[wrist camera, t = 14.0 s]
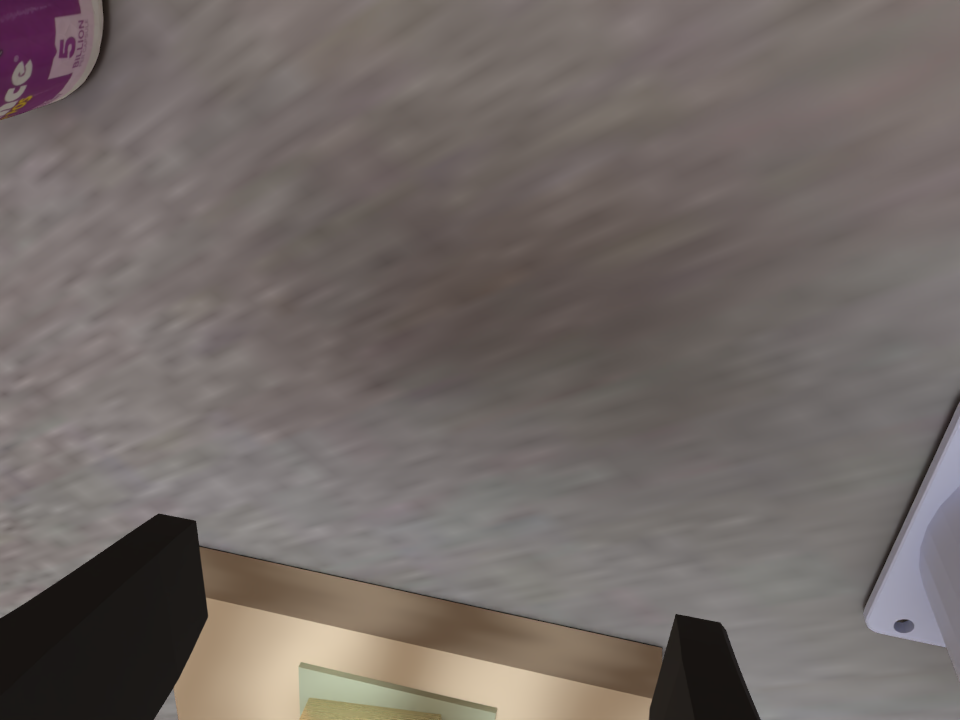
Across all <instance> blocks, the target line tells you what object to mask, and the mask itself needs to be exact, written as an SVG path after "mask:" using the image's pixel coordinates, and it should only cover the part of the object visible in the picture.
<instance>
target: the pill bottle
mask: <svg viewBox="0 0 960 720" xmlns="http://www.w3.org/2000/svg"><path fill="white" fill-rule="evenodd" d="M102 33H103V7H102V0H0V120H2V119H5V118H9V117H12V116H15V115H18V114H21V113H24V112H27V111H30V110H33V109H36V108H39V107H42V106H44V105H47V104H50V103H53V102H56V101H58V100H61V99H63V98H65V97H66V96H68V95H69V94H71V93H72V92H73V91H75V90H76V89H77V88H78V87H79V86H80V85H82V84H83V83H84V82H85V80H86V78H87V77H88V75H89V74H90V72H91V71H92V69H93V67H94V65H95V63H96V60H97V58H98V55H99V52H100V44H101V39H102Z"/></svg>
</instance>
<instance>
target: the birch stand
mask: <svg viewBox="0 0 960 720" xmlns="http://www.w3.org/2000/svg"><path fill="white" fill-rule="evenodd" d="M199 548H200V556H201V564H202V571H203V579H204V587H205V594H206V602H207V610H208V618H207V621H206V623H205V625H204V627H203V629H202V631H201V634H200V636H199V638H198V640H197V642H196V645H195V647H194V649H193V651H192V653H191V655H190V657H189V659H188V661H187V663H186V665H185V667H184V669H183V671H182V673H181V676H180V678H179V679H178V681H177V683H176V684H175V686H174V693H175V700H176V707H177V713H178V720H299V719H300V717H301V714H302V712H303V710H304V708H305V706H306V703H307V701H308V699H309V698H317V699H325V700H333V701H340V702H348V703H356V704H364V705H371V706H379V707H387V708H395V709H403V710H410V711H418V712H426V713H434V714H441V717H442V720H649V709H650V705H651V702H652V698H653V695H654V691H655V687H656V684H657V680H658V677H659V673H660V669H661V666H662V648H660V647H655V646H651V645H646V644H641V643H637V642H632V641H628V640H623V639H619V638H614V637H609V636H605V635H600V634H596V633H591V632H587V631H582V630H578V629H573V628H568V627H564V626H559V625H555V624H550V623H546V622H541V621H536V620H532V619H527V618H523V617H518V616H514V615H509V614H504V613H500V612H495V611H491V610H486V609H482V608H477V607H472V606H468V605H463V604H459V603H454V602H450V601H445V600H440V599H436V598H431V597H427V596H422V595H418V594H413V593H409V592H404V591H399V590H395V589H390V588H386V587H381V586H377V585H372V584H367V583H363V582H358V581H354V580H349V579H345V578H340V577H335V576H331V575H326V574H322V573H317V572H313V571H308V570H303V569H299V568H294V567H290V566H285V565H281V564H276V563H271V562H267V561H262V560H258V559H253V558H249V557H244V556H239V555H235V554H230V553H226V552H221V551H217V550H212V549H208V548H203V547H199Z"/></svg>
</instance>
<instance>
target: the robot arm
mask: <svg viewBox="0 0 960 720" xmlns="http://www.w3.org/2000/svg"><path fill="white" fill-rule="evenodd" d="M863 615H864V619H865V622H866V624H867V627H868V628H869V629H871V630H872V631H874V632H876V633H879V634H884V635H889V636H894V637H898V638H903V639H908V640H913V641H917V642H922V643H927V644H932V645H937V646H941V647H946V648H947V650H948V653H949V656H950V658H951V661H952V664H953V666H954V669H955V672H956V674H957V677H958V679H959V682H960V402H959V404H958V406H957V409H956V411H955V413H954V415H953V417H952V419H951V422H950V424H949V426H948V428H947V430H946V432H945V435H944V437H943V439H942V441H941V443H940V445H939V448H938V450H937V452H936V454H935V456H934V458H933V461H932V463H931V465H930V467H929V469H928V472H927V474H926V476H925V478H924V480H923V482H922V485H921V487H920V489H919V491H918V493H917V495H916V498H915V500H914V502H913V504H912V506H911V508H910V511H909V513H908V515H907V517H906V519H905V522H904V524H903V526H902V528H901V530H900V532H899V535H898V537H897V539H896V541H895V543H894V545H893V548H892V550H891V552H890V554H889V556H888V558H887V561H886V563H885V565H884V567H883V569H882V571H881V574H880V576H879V578H878V580H877V582H876V585H875V587H874V589H873V591H872V593H871V595H870V598H869V600H868V602H867V604H866V606H865V608H864V613H863ZM207 618H208V610H207V602H206V594H205V587H204V579H203V571H202V564H201V556H200V548H199V541H198V533H197V525H196V521H194V520H189V519H184V518H179V517H174V516H168V515H163V514H157V515H156V516H154V517H153V518H151V519H150V520H148V521H147V522H145V523H144V524H142V525H141V526H139V527H138V528H136V529H135V530H133V531H132V532H130V533H129V534H127V535H126V536H124V537H123V538H122V539H120V540H119V541H117V542H116V543H114V544H113V545H111V546H110V547H108V548H107V549H105V550H104V551H103V552H101V553H100V554H98V555H97V556H95V557H94V558H92V559H91V560H89V561H88V562H86V563H85V564H83V565H82V566H81V567H79V568H78V569H76V570H75V571H73V572H72V573H70V574H69V575H67V576H66V577H64V578H63V579H61V580H60V581H58V582H57V583H55V584H54V585H52V586H51V587H49V588H48V589H46V590H45V591H43V592H42V593H40V594H38V595H37V596H35V597H34V598H32V599H31V600H29V601H28V602H26V603H25V604H23V605H22V606H20V607H18V608H17V609H15V610H14V611H12V612H10V613H9V614H7V615H5V616H4V617H2V618H0V720H154V718H155V717H156V715H157V713H158V712H159V710H160V709H161V707H162V705H163V704H164V702H165V701H166V699H167V697H168V696H169V694H170V693H171V691H172V689H173V688H174V686H175V684H176V683H177V681H178V679H179V678H180V676H181V673H182V671H183V669H184V667H185V665H186V663H187V661H188V659H189V657H190V655H191V653H192V651H193V649H194V647H195V645H196V642H197V640H198V638H199V636H200V634H201V631H202V629H203V627H204V625H205V623H206V621H207ZM901 619H908V621H905V622H896V621H898V620H901ZM649 720H761V719H760V717H759V715H758V712H757V710H756V708H755V705H754V703H753V700H752V698H751V696H750V693H749V691H748V689H747V686H746V683H745V681H744V678H743V676H742V673H741V671H740V668H739V666H738V663H737V660H736V658H735V655H734V652H733V649H732V646H731V644H730V641H729V638H728V635H727V632H726V630H725V628H724V627H723V626H722V624H721V623H719V622H714V621H709V620H704V619H699V618H694V617H689V616H683V615H678V614H676V615H675V619H674V623H673V626H672V630H671V633H670V637H669V641H668V644H667V648H666V651H665V655H664V659H663V662H662V666H661V669H660V673H659V677H658V680H657V684H656V687H655V691H654V695H653V698H652V702H651V705H650V709H649Z"/></svg>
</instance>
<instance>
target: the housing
mask: <svg viewBox="0 0 960 720" xmlns="http://www.w3.org/2000/svg"><path fill="white" fill-rule="evenodd" d="M299 720H442V717H441V714H434V713H426V712H418V711H410V710H403V709H395V708H387V707H379V706H371V705H364V704H356V703H348V702H340V701H333V700H325V699H317V698H309V699H308V701H307V703H306V706H305V708H304V710H303V712H302V714H301V717H300V719H299Z"/></svg>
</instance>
